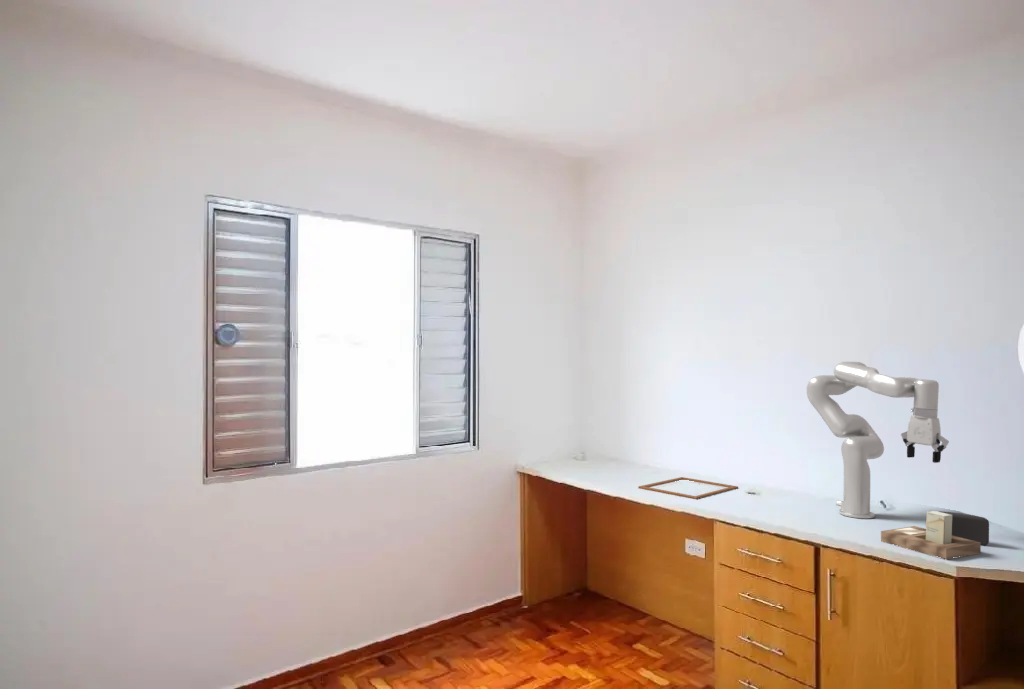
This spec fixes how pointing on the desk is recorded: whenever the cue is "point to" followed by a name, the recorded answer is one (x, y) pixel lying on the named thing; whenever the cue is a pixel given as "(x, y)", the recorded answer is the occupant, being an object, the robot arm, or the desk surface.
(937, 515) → the skincare box
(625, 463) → the desk surface
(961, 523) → the leaning round-cornered charcoal block
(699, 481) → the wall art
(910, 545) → the walnut stand
